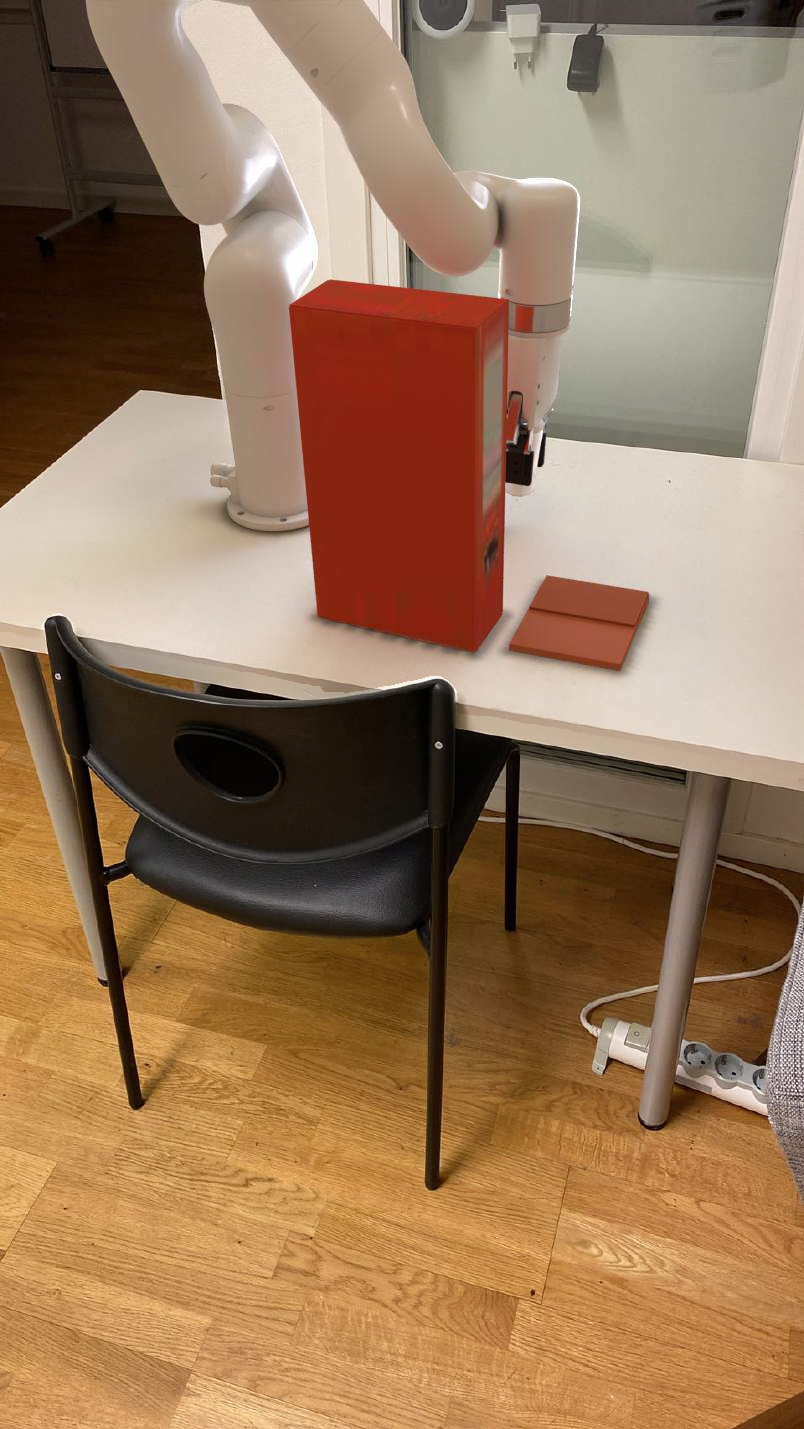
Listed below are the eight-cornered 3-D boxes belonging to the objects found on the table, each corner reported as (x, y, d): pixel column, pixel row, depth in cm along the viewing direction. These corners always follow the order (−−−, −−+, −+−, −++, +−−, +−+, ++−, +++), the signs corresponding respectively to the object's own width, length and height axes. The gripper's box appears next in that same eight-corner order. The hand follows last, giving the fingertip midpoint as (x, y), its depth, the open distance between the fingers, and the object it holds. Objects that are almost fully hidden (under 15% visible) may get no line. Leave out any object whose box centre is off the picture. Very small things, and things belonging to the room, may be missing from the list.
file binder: (353, 580, 126) (330, 277, 107) (503, 612, 120) (509, 297, 101) (317, 619, 121) (286, 306, 101) (474, 654, 114) (473, 329, 95)
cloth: (508, 650, 115) (508, 641, 114) (545, 583, 124) (545, 574, 124) (620, 671, 111) (620, 661, 111) (649, 600, 121) (650, 591, 120)
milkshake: (543, 502, 131) (550, 417, 125) (496, 497, 132) (500, 413, 126) (548, 484, 135) (555, 400, 129) (501, 479, 136) (506, 396, 129)
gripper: (522, 281, 128) (513, 438, 139) (473, 334, 116) (467, 501, 127) (590, 290, 126) (575, 448, 137) (546, 345, 114) (534, 513, 125)
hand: (523, 472), depth 132 cm, fingers closed on milkshake, 4 cm apart
